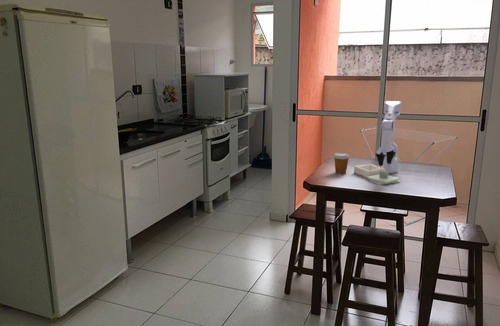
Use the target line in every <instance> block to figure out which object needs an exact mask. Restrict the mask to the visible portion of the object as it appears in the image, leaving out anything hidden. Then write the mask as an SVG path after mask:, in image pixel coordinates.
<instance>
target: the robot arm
mask: <svg viewBox="0 0 500 326" xmlns="http://www.w3.org/2000/svg"><path fill="white" fill-rule="evenodd" d="M402 103H403V102H402V101H398V100H397V101H396V100H394V101H393V100H391V101H390V100H385V101H384V103H383V113H384V118H383V120H382V121H381V126H380V127H381V142H380V147H379V148H378V149H377V150H376V152H375V156H376V159H377V163H378V167H382V168H385V169H386V170H385V171H386V172H388V174H394V173H399V160H398V158H397V157H398V150H399V149H398V148H399V147H398V145H397V144H396V143H395V142H394V139H395V132H396V131H395V130H396V121H397V120H396V119H397V117H398V116H400V115H401V111H402Z"/></svg>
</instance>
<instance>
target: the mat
mask: <svg viewBox="0 0 500 326" xmlns="http://www.w3.org/2000/svg"><path fill="white" fill-rule="evenodd" d="M368 182H372V183H374V184H376V185H379V186H382V185H384V184H383V183H379V182H376V181H372V180H370V179H368ZM399 182H400V180H397V181H395V182H392V183H391V184H394V183H399ZM389 184H390V183H388V184H387V185H389Z"/></svg>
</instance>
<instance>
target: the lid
mask: <svg viewBox="0 0 500 326" xmlns="http://www.w3.org/2000/svg"><path fill="white" fill-rule="evenodd" d="M366 179H367V180H369V179H370V180H372V181H376V182H379V183H383V184H382V185H389V184H393V183H392V182H395V181H400V180H401V177H397V176H395V175H393V176H392V175H390V174H389V173H388V172H386V171H380V174H377V175H373V176H369V177H367V178H366ZM388 183H389V184H388Z"/></svg>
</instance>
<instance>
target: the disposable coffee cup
mask: <svg viewBox="0 0 500 326" xmlns="http://www.w3.org/2000/svg"><path fill="white" fill-rule="evenodd" d="M349 158H350V155H349V153H347V152H346V153H345V152H335V153H334V154H333V159H334V169H335V174H336V175H346V174H347V169H348V164H349Z"/></svg>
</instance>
